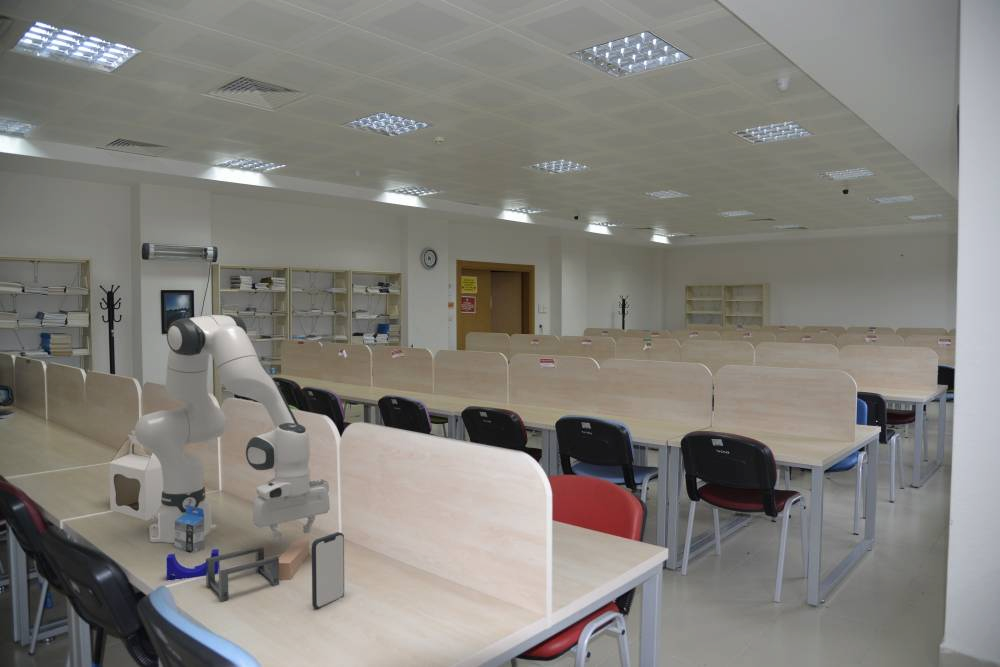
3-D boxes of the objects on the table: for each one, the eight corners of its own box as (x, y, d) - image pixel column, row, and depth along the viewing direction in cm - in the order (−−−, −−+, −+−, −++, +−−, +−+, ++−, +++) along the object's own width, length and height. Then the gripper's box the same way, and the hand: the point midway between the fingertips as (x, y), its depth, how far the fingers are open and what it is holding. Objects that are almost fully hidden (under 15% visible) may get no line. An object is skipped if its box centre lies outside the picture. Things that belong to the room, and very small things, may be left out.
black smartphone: (340, 595, 156) (340, 530, 155) (345, 597, 155) (344, 531, 155) (310, 608, 149) (309, 540, 148) (315, 610, 148) (314, 542, 147)
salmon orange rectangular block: (294, 558, 180) (294, 540, 180) (309, 558, 180) (308, 540, 180) (274, 582, 164) (274, 563, 164) (290, 582, 164) (290, 563, 164)
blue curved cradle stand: (219, 569, 173) (219, 546, 172) (217, 575, 168) (217, 552, 168) (169, 574, 169) (169, 552, 169) (166, 581, 165) (166, 558, 164)
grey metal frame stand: (206, 586, 161) (205, 558, 161) (262, 571, 170) (261, 545, 170) (221, 602, 152) (221, 572, 152) (279, 585, 162) (278, 558, 161)
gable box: (109, 512, 221) (108, 431, 220) (147, 503, 232) (146, 426, 231) (146, 523, 209) (144, 438, 208) (184, 512, 221) (183, 431, 220)
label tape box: (173, 549, 186) (172, 507, 186) (186, 545, 190) (185, 504, 189) (192, 555, 182) (192, 512, 182) (205, 550, 185) (204, 508, 185)
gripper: (323, 475, 181) (323, 524, 181) (250, 488, 167) (250, 541, 168) (333, 480, 176) (333, 530, 177) (259, 494, 163) (259, 548, 163)
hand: (292, 535), depth 172 cm, fingers open, 7 cm apart
